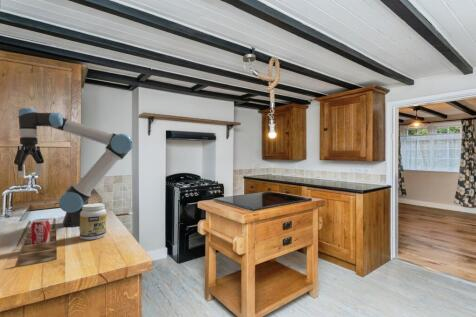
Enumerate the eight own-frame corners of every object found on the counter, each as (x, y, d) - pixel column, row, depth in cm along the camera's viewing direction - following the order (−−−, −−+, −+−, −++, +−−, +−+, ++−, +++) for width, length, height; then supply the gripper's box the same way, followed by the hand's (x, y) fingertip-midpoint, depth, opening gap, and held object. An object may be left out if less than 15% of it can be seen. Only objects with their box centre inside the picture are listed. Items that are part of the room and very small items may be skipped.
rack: (56, 237, 136) (56, 229, 136) (56, 259, 108) (56, 249, 108) (26, 241, 129) (26, 232, 129) (19, 266, 101) (19, 255, 101)
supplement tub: (87, 242, 129) (87, 208, 129) (75, 237, 136) (75, 205, 135) (110, 235, 139) (111, 204, 139) (98, 231, 146) (98, 201, 146)
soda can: (53, 244, 120) (53, 219, 120) (37, 250, 114) (37, 222, 114) (42, 242, 123) (43, 217, 123) (26, 247, 116) (26, 221, 116)
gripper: (36, 138, 153) (38, 174, 154) (3, 135, 128) (5, 178, 129) (49, 138, 154) (51, 173, 155) (19, 135, 129) (22, 177, 130)
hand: (30, 176), depth 142 cm, fingers open, 13 cm apart
